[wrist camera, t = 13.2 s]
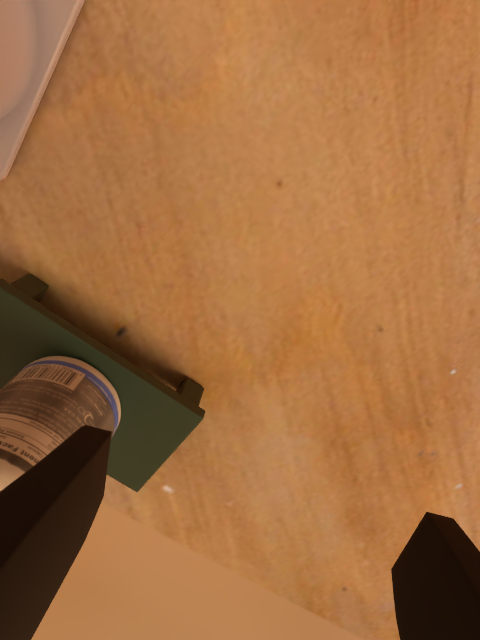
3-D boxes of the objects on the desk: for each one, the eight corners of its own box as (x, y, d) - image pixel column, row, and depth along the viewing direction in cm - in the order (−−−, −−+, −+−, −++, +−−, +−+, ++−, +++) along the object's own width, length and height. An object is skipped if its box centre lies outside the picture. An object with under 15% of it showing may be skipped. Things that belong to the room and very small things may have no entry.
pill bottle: (85, 458, 20) (-38, 663, 13) (-1, 397, 19) (-192, 580, 12) (146, 402, 18) (45, 601, 11) (55, 330, 17) (-127, 495, 10)
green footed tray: (-21, 354, 21) (-55, 380, 19) (25, 264, 19) (-8, 282, 17) (150, 459, 23) (137, 493, 21) (212, 388, 21) (203, 419, 18)
